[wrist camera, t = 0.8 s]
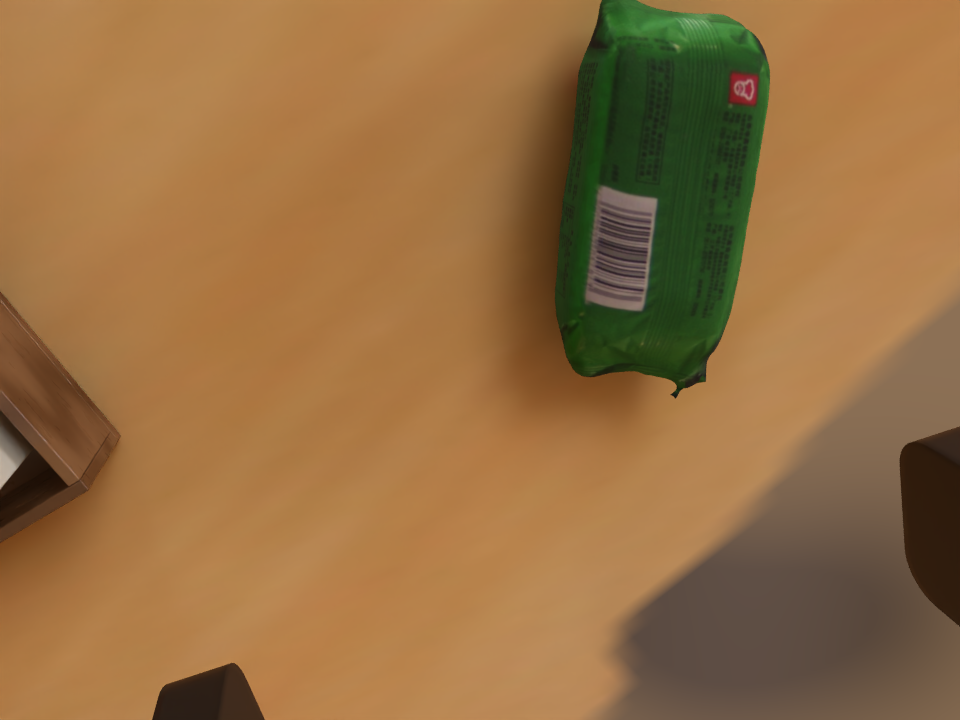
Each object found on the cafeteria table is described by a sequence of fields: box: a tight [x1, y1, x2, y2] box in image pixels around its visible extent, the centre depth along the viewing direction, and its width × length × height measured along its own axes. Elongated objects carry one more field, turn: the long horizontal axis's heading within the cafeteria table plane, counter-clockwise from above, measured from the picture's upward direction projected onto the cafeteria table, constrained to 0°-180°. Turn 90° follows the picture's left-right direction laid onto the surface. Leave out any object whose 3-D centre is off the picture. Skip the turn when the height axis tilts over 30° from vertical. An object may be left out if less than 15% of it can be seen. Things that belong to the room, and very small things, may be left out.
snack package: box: [555, 0, 770, 399], centre depth 32 cm, size 7×16×5 cm, turn 175°
